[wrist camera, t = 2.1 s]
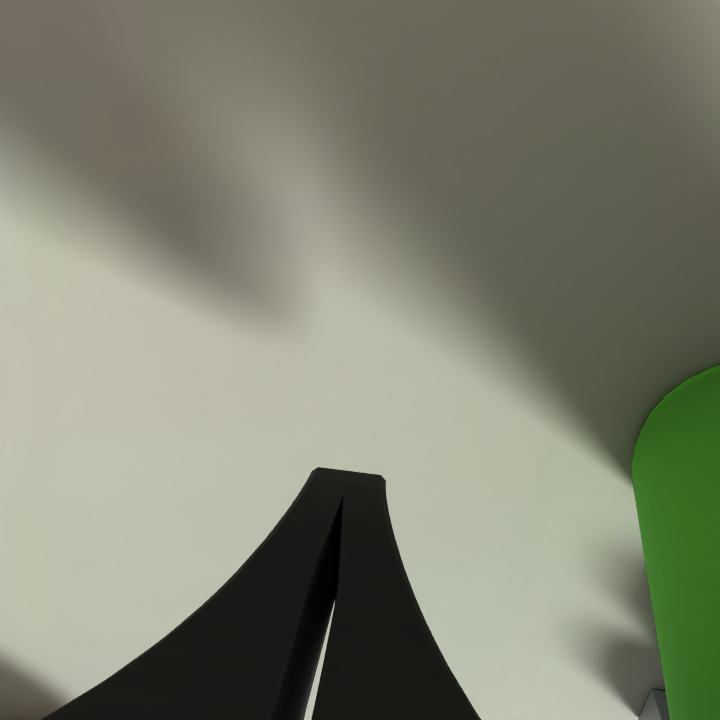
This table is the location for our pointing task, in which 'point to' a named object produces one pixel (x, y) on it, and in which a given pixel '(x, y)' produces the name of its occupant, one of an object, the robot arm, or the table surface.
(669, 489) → the cup
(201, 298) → the table surface
